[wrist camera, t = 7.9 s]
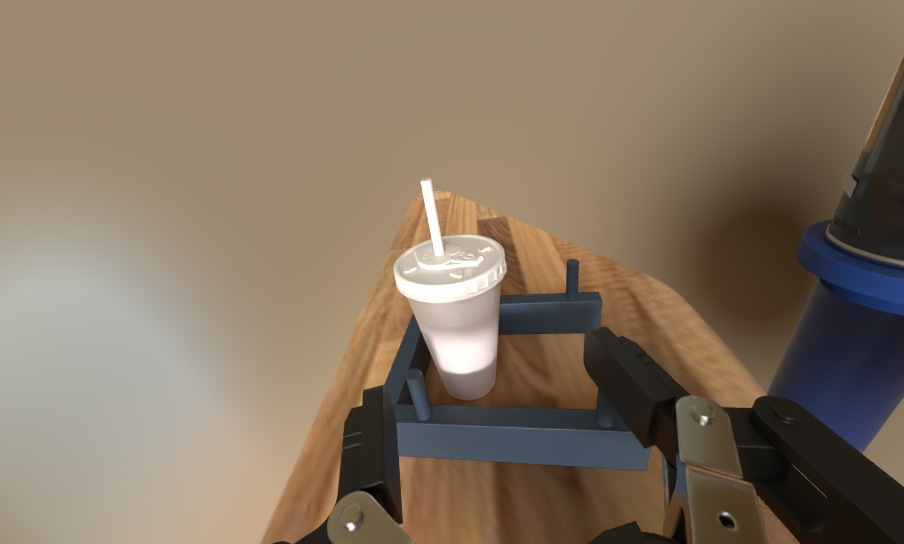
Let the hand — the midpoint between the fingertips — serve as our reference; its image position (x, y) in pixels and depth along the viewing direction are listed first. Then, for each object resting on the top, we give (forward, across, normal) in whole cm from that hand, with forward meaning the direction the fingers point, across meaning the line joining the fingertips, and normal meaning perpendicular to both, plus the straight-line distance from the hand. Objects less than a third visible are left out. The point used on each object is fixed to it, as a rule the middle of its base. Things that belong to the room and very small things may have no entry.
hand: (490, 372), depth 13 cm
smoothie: (+8, 0, -8) cm, 11 cm away
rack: (+7, +2, -8) cm, 11 cm away
